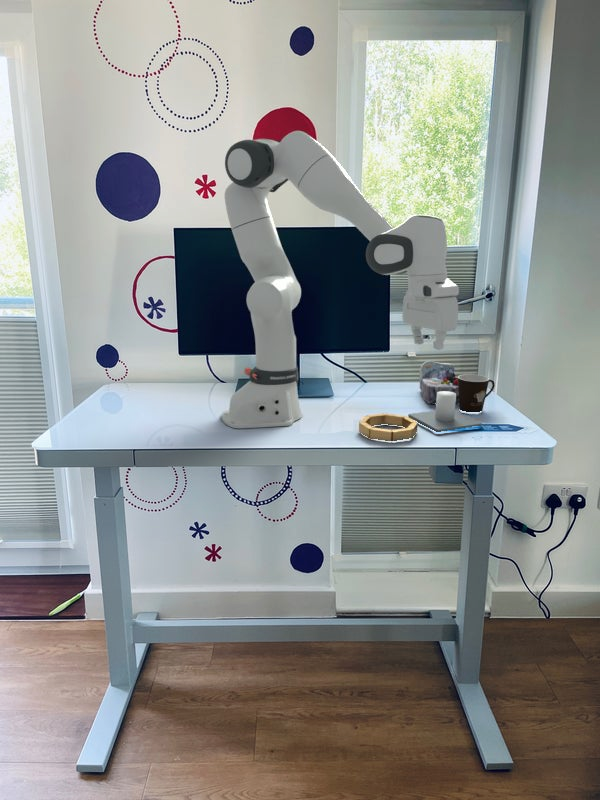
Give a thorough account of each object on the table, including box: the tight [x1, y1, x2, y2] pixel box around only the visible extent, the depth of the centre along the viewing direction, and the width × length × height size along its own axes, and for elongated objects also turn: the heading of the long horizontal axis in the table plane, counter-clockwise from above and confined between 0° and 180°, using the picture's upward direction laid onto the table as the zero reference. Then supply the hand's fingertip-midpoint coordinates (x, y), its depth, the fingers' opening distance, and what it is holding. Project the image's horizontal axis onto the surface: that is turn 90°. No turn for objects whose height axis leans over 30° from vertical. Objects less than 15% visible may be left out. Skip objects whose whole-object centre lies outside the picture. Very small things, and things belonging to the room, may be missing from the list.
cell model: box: [418, 360, 459, 404], centre depth 180 cm, size 13×11×20 cm
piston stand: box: [407, 391, 484, 432], centre depth 157 cm, size 14×14×8 cm
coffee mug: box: [457, 373, 496, 412], centre depth 167 cm, size 12×9×10 cm
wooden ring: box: [358, 412, 419, 441], centre depth 150 cm, size 14×14×3 cm
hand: (428, 346), depth 138 cm, fingers open, 8 cm apart
